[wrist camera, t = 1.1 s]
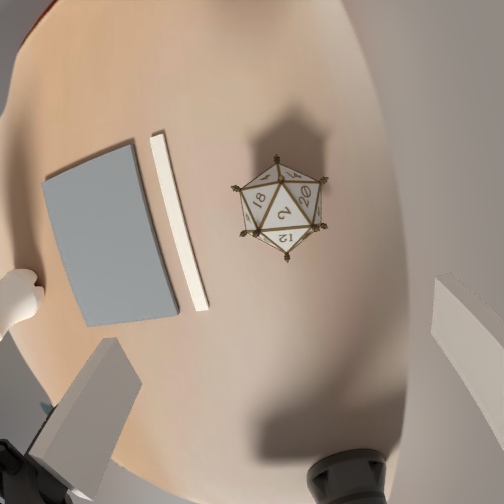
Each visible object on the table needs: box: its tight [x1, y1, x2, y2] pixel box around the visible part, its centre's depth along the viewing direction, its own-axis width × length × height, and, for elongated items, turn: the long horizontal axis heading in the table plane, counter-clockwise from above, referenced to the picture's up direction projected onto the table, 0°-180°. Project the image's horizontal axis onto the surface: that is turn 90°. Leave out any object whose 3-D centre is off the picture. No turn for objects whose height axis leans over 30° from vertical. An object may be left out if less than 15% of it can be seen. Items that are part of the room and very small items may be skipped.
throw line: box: [150, 134, 209, 312], centre depth 31 cm, size 20×2×1 cm, turn 13°
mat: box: [41, 144, 180, 327], centre depth 32 cm, size 20×14×1 cm
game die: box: [231, 154, 329, 263], centre depth 27 cm, size 9×8×10 cm
